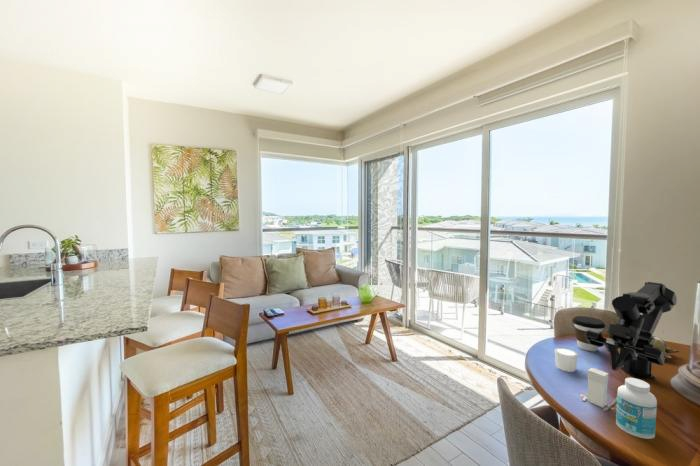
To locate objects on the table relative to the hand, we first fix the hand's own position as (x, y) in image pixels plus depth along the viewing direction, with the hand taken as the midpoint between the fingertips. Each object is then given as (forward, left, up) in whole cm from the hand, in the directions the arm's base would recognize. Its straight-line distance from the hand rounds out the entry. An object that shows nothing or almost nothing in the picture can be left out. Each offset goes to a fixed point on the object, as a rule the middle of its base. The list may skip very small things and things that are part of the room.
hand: (613, 369), depth 94 cm
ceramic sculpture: (-35, -30, -8) cm, 47 cm away
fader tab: (+9, +7, -7) cm, 14 cm away
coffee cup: (-13, -33, -8) cm, 37 cm away
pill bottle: (+7, +18, -8) cm, 20 cm away
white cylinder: (+7, -13, -8) cm, 17 cm away
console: (+6, +4, -8) cm, 11 cm away
